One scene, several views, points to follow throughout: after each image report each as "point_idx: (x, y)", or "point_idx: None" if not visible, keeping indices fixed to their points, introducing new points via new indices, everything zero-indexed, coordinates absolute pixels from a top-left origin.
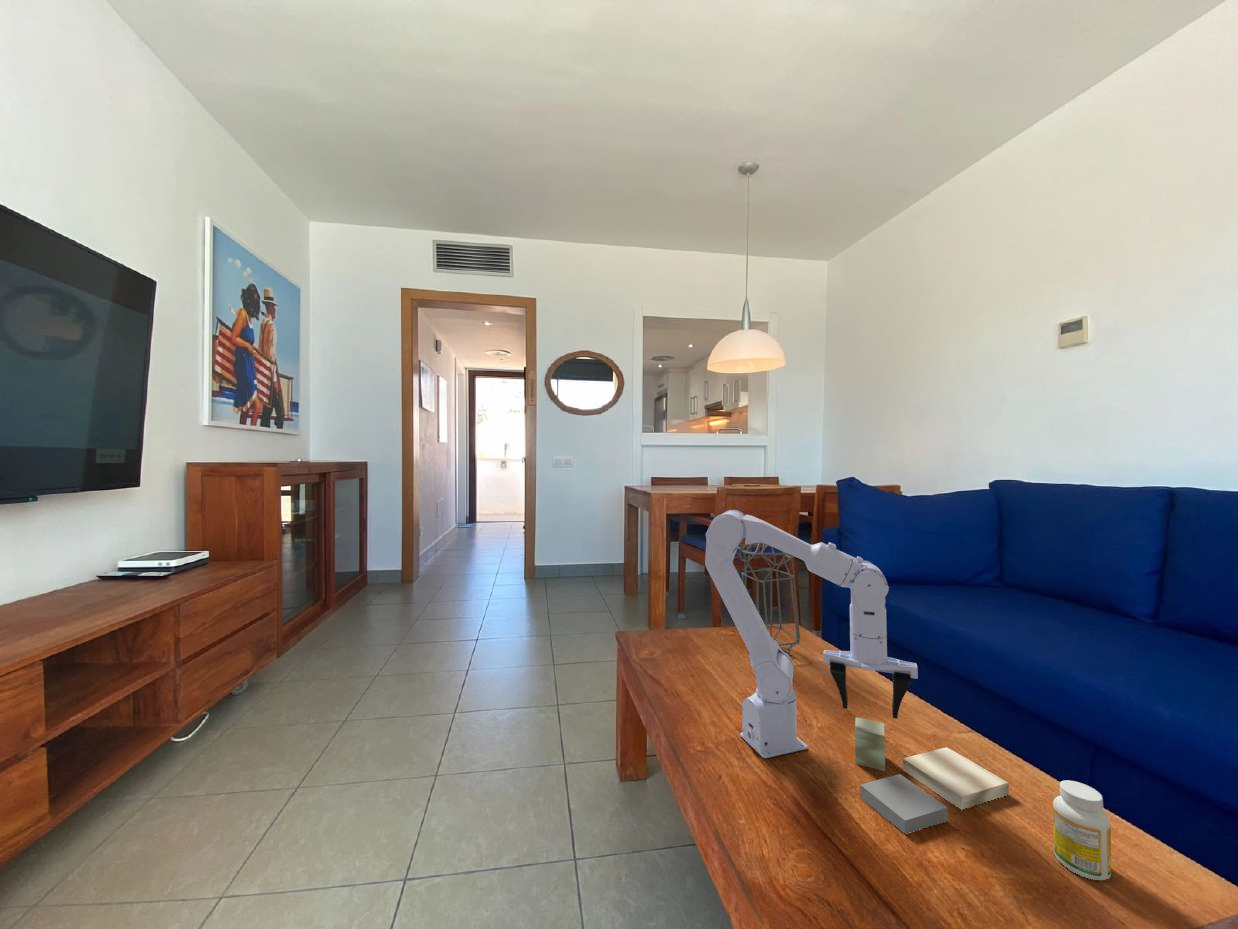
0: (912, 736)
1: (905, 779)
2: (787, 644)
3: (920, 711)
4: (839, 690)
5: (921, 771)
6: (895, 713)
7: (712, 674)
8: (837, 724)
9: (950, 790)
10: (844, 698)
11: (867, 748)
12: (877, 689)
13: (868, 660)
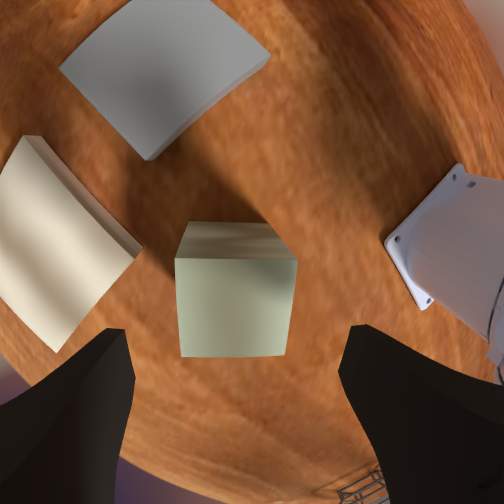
0: (137, 395)
1: (132, 137)
2: (354, 502)
3: (139, 456)
4: (444, 366)
5: (89, 211)
6: (101, 341)
7: None
8: (297, 381)
9: (37, 153)
10: (395, 348)
11: (240, 237)
12: (212, 484)
13: None
